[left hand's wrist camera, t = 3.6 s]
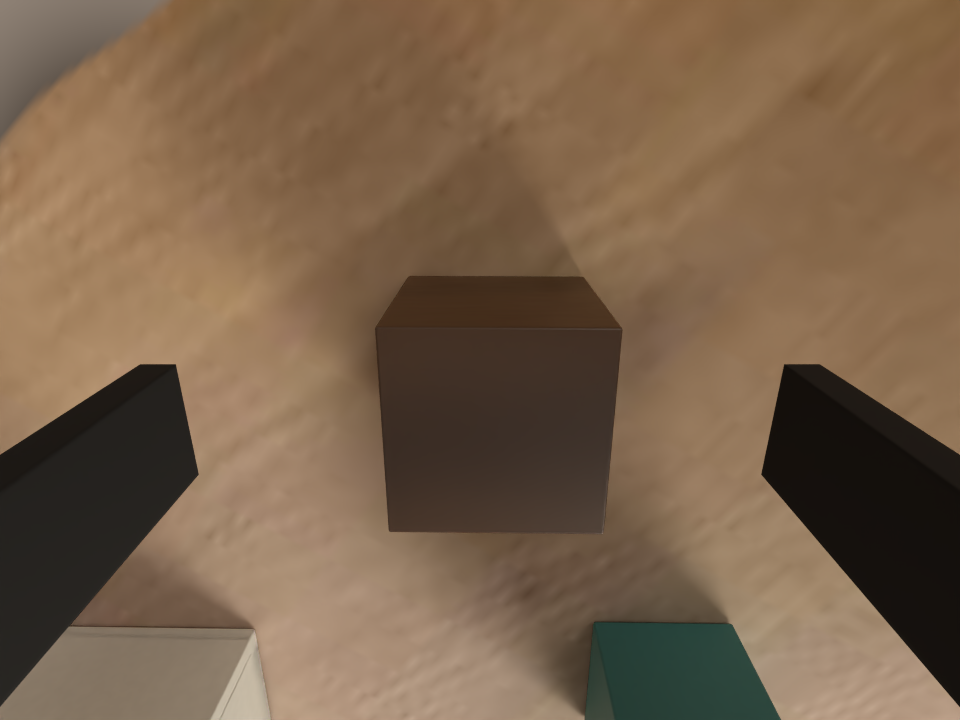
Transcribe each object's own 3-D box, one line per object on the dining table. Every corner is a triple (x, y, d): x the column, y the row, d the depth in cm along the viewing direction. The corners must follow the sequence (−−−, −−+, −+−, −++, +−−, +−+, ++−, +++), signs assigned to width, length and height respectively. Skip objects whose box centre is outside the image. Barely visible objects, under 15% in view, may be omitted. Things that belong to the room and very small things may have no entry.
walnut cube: (408, 275, 16) (374, 327, 11) (584, 276, 16) (623, 328, 11) (415, 432, 18) (388, 532, 13) (573, 433, 18) (604, 535, 13)
